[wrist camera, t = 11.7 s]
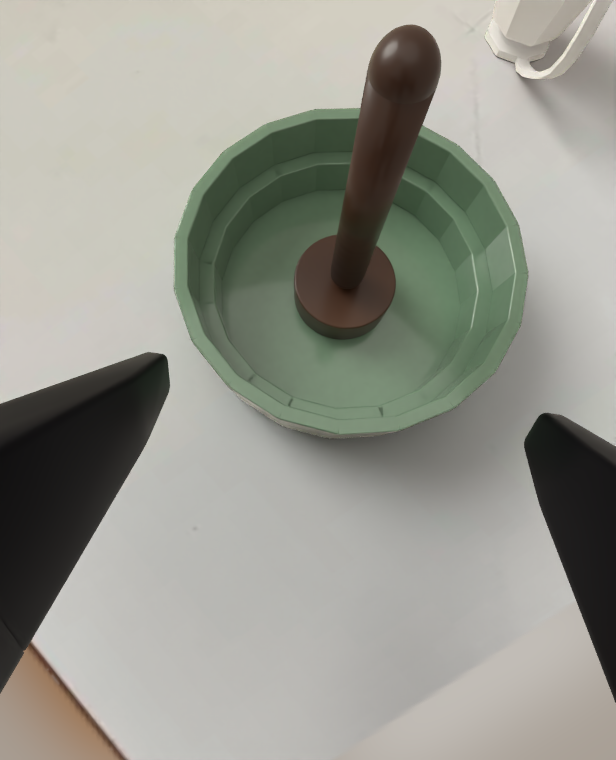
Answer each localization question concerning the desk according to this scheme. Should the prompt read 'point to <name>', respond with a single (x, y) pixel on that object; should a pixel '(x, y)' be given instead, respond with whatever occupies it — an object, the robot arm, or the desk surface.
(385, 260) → the knob-topped peg stand
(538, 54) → the cup
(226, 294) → the bowl
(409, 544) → the desk surface
